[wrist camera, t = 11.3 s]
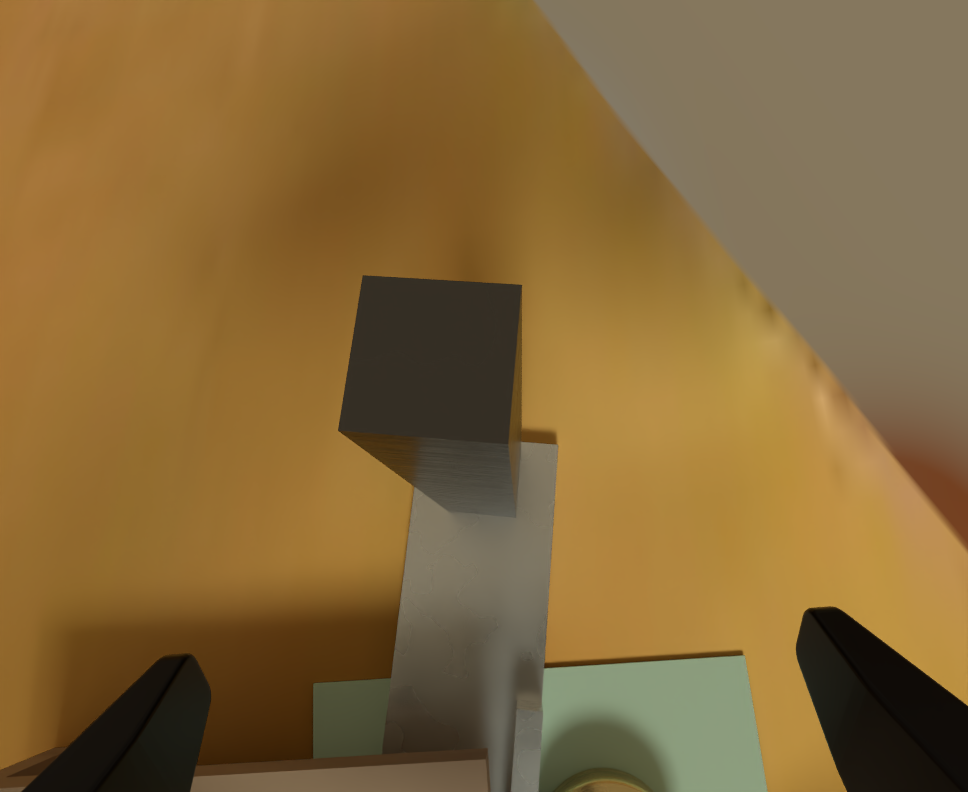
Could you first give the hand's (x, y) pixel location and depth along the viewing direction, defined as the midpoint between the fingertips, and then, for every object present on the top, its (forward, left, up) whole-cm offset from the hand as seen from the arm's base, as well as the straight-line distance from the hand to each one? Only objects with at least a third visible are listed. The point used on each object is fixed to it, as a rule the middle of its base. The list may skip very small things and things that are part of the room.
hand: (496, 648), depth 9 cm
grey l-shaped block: (-2, 0, -13) cm, 13 cm away
